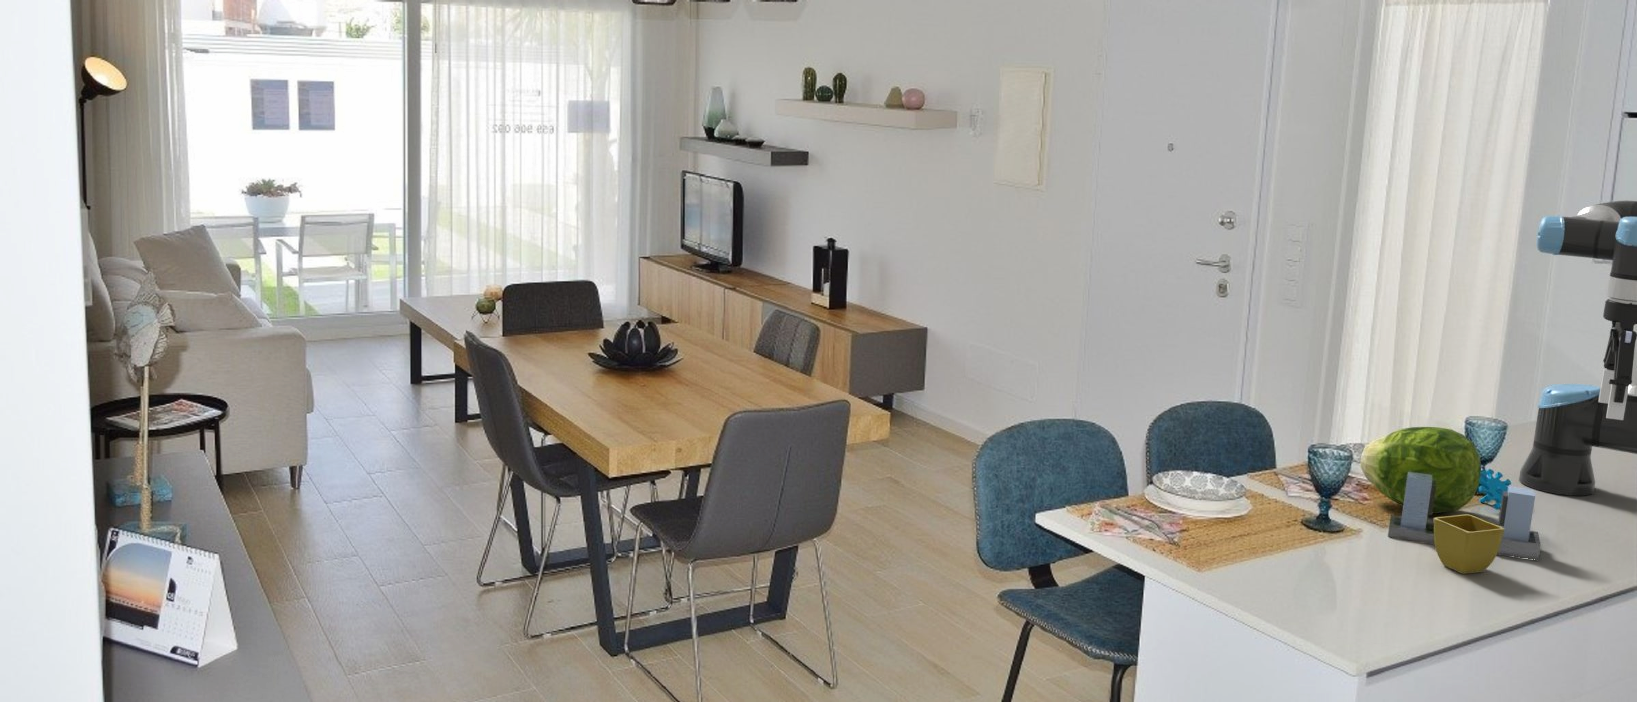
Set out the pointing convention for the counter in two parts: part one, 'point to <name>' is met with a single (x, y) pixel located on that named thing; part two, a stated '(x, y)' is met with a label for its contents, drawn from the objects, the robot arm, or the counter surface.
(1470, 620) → the counter surface
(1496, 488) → the blue splash shape
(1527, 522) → the blue block
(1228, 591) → the counter surface
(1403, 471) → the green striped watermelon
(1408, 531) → the grey piece
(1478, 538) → the flower pot
